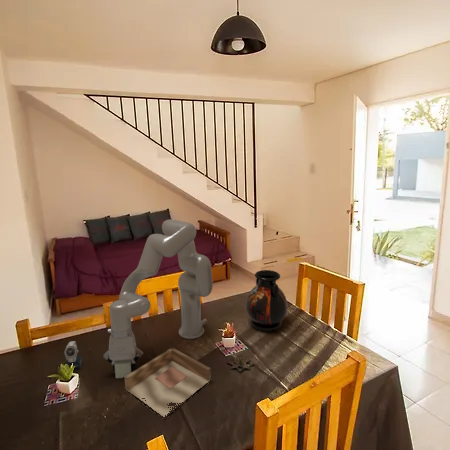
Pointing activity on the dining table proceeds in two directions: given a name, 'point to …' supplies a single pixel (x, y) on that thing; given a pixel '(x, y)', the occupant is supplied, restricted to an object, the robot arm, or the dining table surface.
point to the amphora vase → (266, 302)
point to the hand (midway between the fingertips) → (124, 370)
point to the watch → (72, 355)
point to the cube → (122, 368)
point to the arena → (167, 380)
